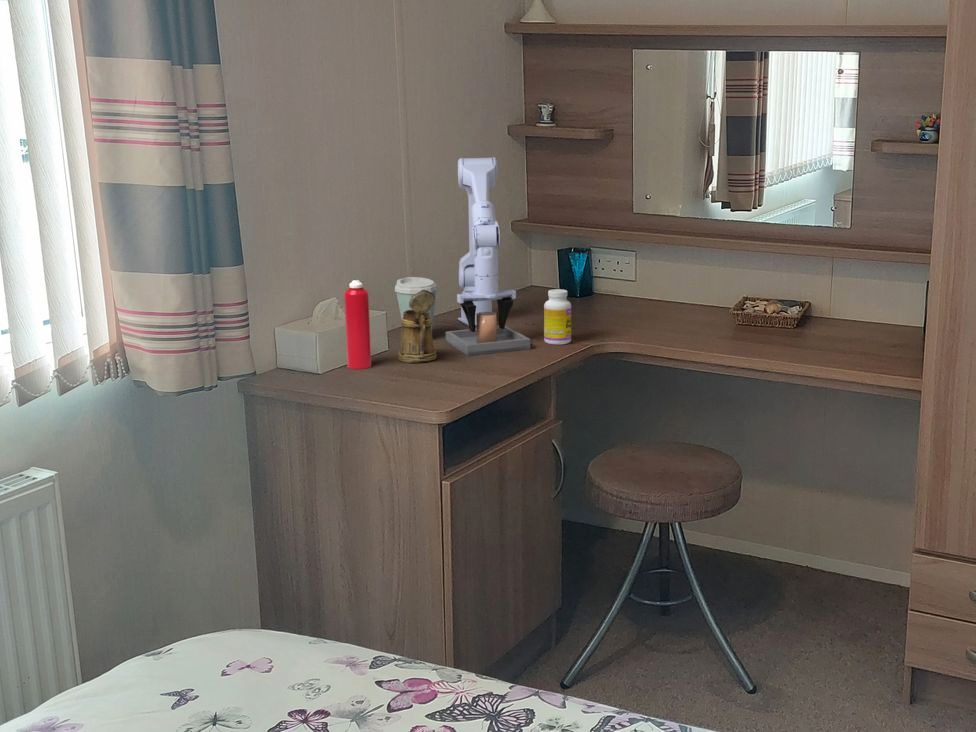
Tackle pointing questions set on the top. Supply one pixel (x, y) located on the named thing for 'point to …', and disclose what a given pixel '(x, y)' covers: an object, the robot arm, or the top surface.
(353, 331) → the bottle
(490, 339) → the terracotta cup
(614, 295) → the top surface
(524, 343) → the gray tray
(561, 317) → the supplement bottle
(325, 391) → the top surface
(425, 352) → the wooden mug
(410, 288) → the disposable coffee cup
